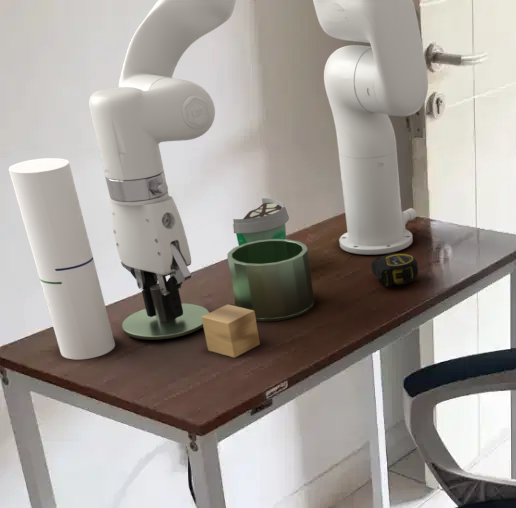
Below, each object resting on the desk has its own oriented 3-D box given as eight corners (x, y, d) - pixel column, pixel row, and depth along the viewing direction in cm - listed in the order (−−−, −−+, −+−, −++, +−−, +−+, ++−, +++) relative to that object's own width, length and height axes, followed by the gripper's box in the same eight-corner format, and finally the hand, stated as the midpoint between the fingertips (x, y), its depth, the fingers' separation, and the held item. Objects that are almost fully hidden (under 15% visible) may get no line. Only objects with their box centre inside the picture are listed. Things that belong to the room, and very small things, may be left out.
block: (233, 337, 141) (227, 304, 139) (260, 344, 139) (254, 310, 136) (207, 350, 138) (201, 316, 135) (234, 357, 135) (228, 323, 133)
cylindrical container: (114, 355, 137) (67, 169, 124) (59, 362, 136) (5, 175, 122) (115, 335, 143) (70, 155, 130) (62, 342, 141) (11, 161, 128)
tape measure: (371, 277, 160) (369, 255, 158) (413, 272, 161) (411, 249, 159) (380, 292, 154) (378, 269, 152) (423, 286, 156) (421, 263, 154)
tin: (273, 287, 157) (265, 234, 153) (329, 300, 152) (323, 245, 147) (221, 312, 149) (210, 257, 144) (278, 327, 144) (269, 270, 139)
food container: (278, 284, 158) (269, 221, 153) (242, 282, 160) (231, 220, 154) (306, 257, 169) (298, 198, 163) (272, 256, 170) (263, 197, 164)
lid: (170, 304, 152) (161, 266, 149) (228, 319, 147) (221, 279, 144) (105, 333, 144) (95, 292, 140) (165, 350, 138) (156, 308, 135)
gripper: (201, 187, 134) (225, 317, 143) (118, 173, 141) (146, 297, 151) (158, 202, 128) (186, 335, 138) (74, 186, 136) (106, 314, 145)
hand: (165, 314), depth 144 cm, fingers closed on lid, 2 cm apart
